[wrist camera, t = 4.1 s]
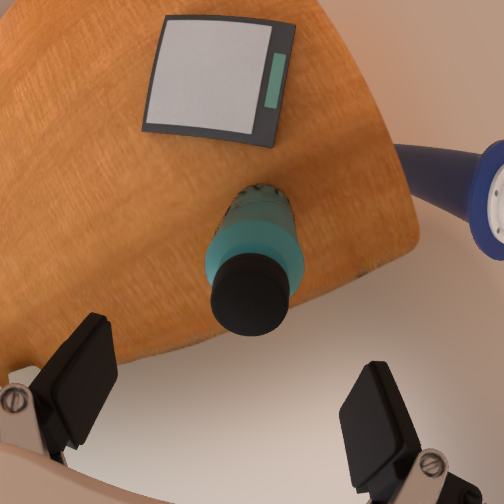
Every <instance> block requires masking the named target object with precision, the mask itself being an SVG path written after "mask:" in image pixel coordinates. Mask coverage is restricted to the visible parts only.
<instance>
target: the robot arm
mask: <svg viewBox="0 0 504 504" xmlns="http://www.w3.org/2000/svg"><path fill="white" fill-rule="evenodd" d="M487 213H488V221H489V226H490V229H491V231H492V233H493V235H494V236H495V238H496V239H497V240H499V241H500V242H502V243H503V244H504V164H503V165H502V166H501V167H500V168H499V169H498V171H497V172H496V174H495V176H494V178H493V181H492V183H491V186H490V190H489V195H488V204H487ZM117 376H118V371H117V365H116V358H115V352H114V345H113V338H112V330H111V323H110V321H107V318H106V316H104V315H100V314H97V313H93V312H91V313H90V314H89V315H88V316H87V317H86V318H85V319H84V320H83V322H82V323H81V324H80V325H79V326H78V327H77V329H76V330H75V331H74V332H73V333H72V335H71V336H70V337H69V338H68V339H67V340H66V341H65V342H64V343H63V344H62V345H61V346H60V347H59V349H58V350H57V351H56V352H55V353H54V355H53V356H52V357H51V358H50V360H49V361H48V362H47V364H46V365H45V366H44V367H43V369H42V370H41V371H40V373H39V374H38V375H37V376H36V378H35V379H34V381H33V382H32V383H31V385H30V386H29V387H26V386H25V385H23V384H19V383H11V384H8V385H6V386H4V387H3V388H2V389H1V390H0V504H174V503H169V502H165V501H161V500H157V499H153V498H149V497H147V496H143V495H139V494H136V493H133V492H130V491H127V490H124V489H121V488H118V487H115V486H113V485H110V484H107V483H105V482H102V481H99V480H97V479H94V478H92V477H89V476H87V475H84V474H82V473H80V472H77V471H75V470H73V469H71V468H68V466H67V463H66V460H65V457H64V454H63V451H64V449H65V447H66V446H68V447H71V448H73V449H75V450H77V448H78V446H79V445H83V444H84V443H85V441H86V439H87V437H88V435H89V432H90V430H91V428H92V426H93V424H94V422H95V420H96V418H97V416H98V414H99V412H100V410H101V409H102V407H103V405H104V403H105V401H106V399H107V397H108V395H109V393H110V391H111V389H112V387H113V386H114V383H115V382H116V380H117ZM339 419H340V424H341V429H342V434H343V438H344V444H345V449H346V454H347V460H348V465H349V471H350V476H351V482H352V486H353V487H354V488H356V491H357V494H359V493H366V492H369V494H370V499H369V501H368V502H367V504H482V494H481V491H480V490H479V489H478V488H477V487H476V486H474V485H473V484H471V483H468V482H467V481H465V480H463V479H461V478H459V477H457V476H455V475H454V474H452V473H450V472H448V468H449V465H448V461H447V459H446V457H445V456H444V455H443V453H441V452H440V451H438V450H435V449H425V450H423V451H422V449H421V444H420V441H419V438H418V436H417V433H416V431H415V428H414V426H413V423H412V420H411V418H410V415H409V413H408V411H407V408H406V406H405V403H404V401H403V398H402V396H401V394H400V392H399V389H398V387H397V385H396V382H395V380H394V378H393V375H392V373H391V371H390V369H389V366H388V364H387V363H386V362H384V361H371V362H370V363H369V364H367V365H365V366H364V368H363V370H362V372H361V374H360V375H359V377H358V379H357V381H356V383H355V384H354V386H353V388H352V390H351V392H350V393H349V395H348V397H347V398H346V400H345V402H344V403H343V405H342V407H341V408H340V411H339ZM484 504H486V503H484Z"/></svg>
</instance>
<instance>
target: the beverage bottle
mask: <svg viewBox="0 0 504 504" xmlns="http://www.w3.org/2000/svg"><path fill="white" fill-rule="evenodd" d="M259 184H260V183H259ZM262 184H264V183H262ZM269 185H270V184H269ZM269 185H267V184H266V185H257V184H256V185H254V186H252V185H251V186H250V187H248V186H247V187H248V188H246V187H245V188H246V189H245V190H243V191H242V192H241V191H240V193H239V195H238V196H237V198H236V197H235V198H236V199H235V198H234V199H235V201H234V203H233V205H232V206H231V205H230V206H231V208H230V207H229V209H230V210H229V209H228V211H229V212H228V211H226V213H225V215H224V216H226V217H225V218H224V216H223V218H224V219H223V220H224V221H223V222H222V224H221V226H220V227H219V230H218V229H217V228H218V227H217V228H216V229H217V230H218V231H217V233H216V232H215V233H216V234H215V236H214V238H213V239H212V241H211V243H210V245H209V247H208V249H207V252H206V256H205V271H206V276H207V279H208V281H209V283H210V286H211V287H212V293H211V300H210V301H211V308H212V312H213V314H214V316H215V318H216V319H217V321H218V322H219V323H220V324H221V325H222V326H223V327H224V328H226V329H227V330H229V331H231V332H233V333H235V334H238V335H243V336H260V335H264V334H266V333H269V332H271V331H273V330H274V329H275V328H277V327H278V326H279V325H280V324H281V323H282V321H283V320H284V318H285V316H286V314H287V311H288V306H289V298H290V297H291V296H292V295H293V294H294V293H295V291H296V290H297V288H298V287H299V285H300V283H301V281H302V278H303V274H304V257H303V253H302V250H301V247H300V245H299V242H298V238H297V234H296V229H295V226H296V224H294V221H295V220H294V218H293V217H294V216H292V212H291V209H292V208H291V209H290V207H292V206H290V203H289V200H288V198H286V197H287V196H286V197H285V196H284V194H285V193H284V194H283V193H282V192H283V191H282V192H281V191H280V190H278V189H279V188H278V189H276V188H274V187H272V186H271V185H270V186H269ZM232 202H233V201H232ZM221 221H222V220H221ZM295 223H296V222H295ZM219 225H220V224H219Z"/></svg>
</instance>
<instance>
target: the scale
mask: <svg viewBox="0 0 504 504" xmlns="http://www.w3.org/2000/svg"><path fill="white" fill-rule="evenodd" d="M295 28H296V25H294V24H289V23H283V22H277V21H270V20H263V19H255V18H246V17H235V16H221V15H166V16H165V19H164V23H163V27H162V30H161V34H160V38H159V42H158V46H157V50H156V55H155V59H154V63H153V68H152V73H151V78H150V83H149V88H148V94H147V99H146V105H145V111H144V118H143V124H142V132H153V133H165V134H176V135H186V136H195V137H204V138H211V139H219V140H226V141H233V142H239V143H246V144H252V145H258V146H263V147H269V148H273V146H274V141H275V136H276V130H277V125H278V119H279V114H280V109H281V103H282V98H283V93H284V87H285V82H286V76H287V71H288V66H289V60H290V55H291V50H292V44H293V39H294V33H295Z"/></svg>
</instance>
